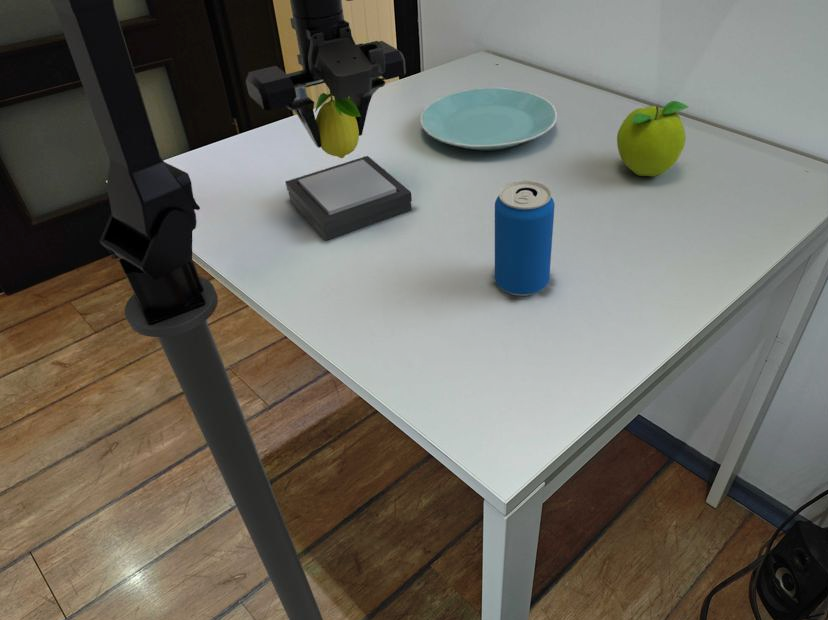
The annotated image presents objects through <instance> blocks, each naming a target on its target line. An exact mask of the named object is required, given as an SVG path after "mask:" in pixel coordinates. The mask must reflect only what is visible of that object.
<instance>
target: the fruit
mask: <svg viewBox="0 0 828 620" xmlns="http://www.w3.org/2000/svg"><path fill="white" fill-rule="evenodd" d="M688 108H689V105H686V104H684V103H683V102H680V101H677V100H672V101H669V102H667V103H666V104H665V105H664V107H659V105H658V104H656V105H651V106H646V107H640V108H636V109H634V110H632V111H631V112H629V114H628V115H627V116H626V117H625V118H624V120H623V122H622V123H621V125H620V126H619V129H618V131H617V137H616V143H617V150H618V154H619V156H620V159H621V160H622V162H623V164H624V165H625V166H626V167H627V168H628V169H629V170H630V171H631V172H633V174H635V175H637V176H638V177H639V176H640V177H657V176H660V175H661V174H664V173H666V172H667V171H668V170H669V169H671V168H672V167H673V166H674V165H675V164H676V162H677V161H678V160H679V158H680V156H681V155H682V152H683V150H684V148H685V145H686V130H685V127H684V124H683V122H682V119H681V117H680V115H679V114H678V112H679V111H682V110H685V109H688Z"/></svg>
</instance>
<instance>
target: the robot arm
mask: <svg viewBox="0 0 828 620" xmlns="http://www.w3.org/2000/svg"><path fill="white" fill-rule="evenodd" d="M49 1H50V4H52V6H53V8H54V11H55V13H56V16H57V18H58V19H57V20H58V21H59V23H60V27H61V30H62V32H63V35H64V38H65V41H66V43H67V46H68V49H69V52H70V54H71V57H72V60H73V62H74V66H75V69H76V71H77V74H78V77H79V79H80V82H81V85H82V87H83V90H84V93H85V95H86V98H87V101H88V104H89V107H90V109H91V112H92V115H93V118H94V121H95V123H96V126H97V129H98V132H99V134H100V137H101V140H102V142H103V146H104V148H105V151H106V154H107V156H108V160H109V167H108V172H107V173H108V174H107V180H106V190H107V195H108V201H109V207H110V211H111V213H110V215H109V217H108V220H107V222H106V225H105V228H104V230H103V232H102V235H101V237H100V240H99V243H100V244H101V245H102V246H103V247H104V248H105V249H106V250H107V251H108V252H109V253H110V254H112V255H114V256H117V257H118V258H120V259H118V261H119V264H120V266H121V268H122V270H123V273H124V274H125V277H126V279H127V280H128V283H129V285H130V287H131V289H132V291H133V294H134V293H135V294H134V296H135V298H136V301H137V303H138V305H139V307H140V309H141V311H142V313H143V316H144V318H145V320H146V322H147V324H148V325H154V324H157V323H159V322H162V321H165V320H167V319H170V318H173V317H176V316H178V315H181V314H184V313H186V312H189V311H192V310H194V309H197V308H200V307H202V306H204V305H205V304H206V302H205V300H204V298H203V296H202V295H201V292H203V290H204V289H203V286H202V283H201V281H200V278H199V276H200V274H199V273H198V271H197V268H196V265H195V262H194V260H193V232H194V230H196V229H197V223H198V221H197V213H196V211H200V210H201V206H200V205H199V204H198V203H197V202H196V198H195V197H194V193H193V192H194V191H193V186H192V180H191V177H190V175H189V173H188V172H186V171H184V170H182V169H180V168H178V167H175V166H173V165H171V164H170V163H168V162H165V161H164V159H163V157H162V156H161V152H160V150H159V146H158V143H157V139H156V137H155V134H154V129H153V127H152V123H151V120H150V117H149V114H148V113H149V112H148V110H147V107H146V104H145V101H144V97H143V94H142V91H141V88H140V84H139V82H138V78H137V75H136V72H135V71H136V70H135V68H134V65H133V62H132V59H131V55H130V53H129V49H128V46H127V42H126V39H125V36H124V33H123V29H122V26H121V23H120V20H119V16H118V14H117V10H116V5H115V0H49ZM346 1H347V2H351V1H353V0H346ZM289 3H290V8H291V13H292V17H290V18H289V21H290V25H291V29H293V30H295V35H296V41H297V46H298V52H299V54H297V55H296V57H297V61H298V62H297V63H298V65H300V66H302V70H297V71H293V72H289V73H286V72H285V71H284V70H282V69H281V68H279V67H278V66H277V65H273V66H269V67H265V68H261V69H256V70H252V71H249V72H248V74H247V76H246V78H245V86H246V88H247V92H248V96H249V97H250V99H252V100H253V101H254V102H255V103H256V104H257V105H259V107H261V109H262V110H264V111H274V110H276V109H280V108H284V107H286V108H287V109H288V110H290V111H293V112H294V113H295V115H296V116H297V117H298V120H299V121H300V123H302V126H303V127H304V129H305V130H306V132H307V134H308V135H309V137H310V139H311V140H312V141H313V144H314V145H315V146H316V147H317V148H318V149H319V148H321V139H320V134H319V131H318V127H317V123H316V116H315V110H314V107H315V101H314V100H312V98H310V97H309V96H308V93H307V88H309V87H313V86H318V85H321V84H325V85H326V87H327V88H328V90H329V92H330V91H331V94H332V97H335V98H337V99H346V98H348V97H349V98H350V99H351V100H352V102H353V103H354V104H355V105H356V107H357V109H358V111H359V113H360V116H361V117H355V118H356V120H357V124H358V129H359V137H360V136H362V135H363V133H364V127H365V123H366V119H367V116H368V115H367V114H368V110H369V106H370V103H371V100H372V98H373V95H374V94H376V92H377V91H378V90H379V89H380V88H383V87H384V86H385V85H386V81H388V80H391V79H395V78H399V77H403V76H405V75H406V74H407V69H406V58H405V57H404V54H403V53H402V51H400V49H397V48H395V47H394V46H392V45H390V44H388V43H387V42H385V41H384V40H379V41H378V40H374V41H370V42H366V43H362V42H361V43H357V44H356V42H355V40H354V38H353V35H352V29H351V28H350V22H349V21H346V20H345V16H344V9H343V8H344V7H343V1H342V0H289ZM382 78H383V79H382Z"/></svg>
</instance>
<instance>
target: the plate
mask: <svg viewBox="0 0 828 620" xmlns="http://www.w3.org/2000/svg"><path fill="white" fill-rule="evenodd" d="M557 120H558V112H557V109H556V107H555V106H554V105H553V104H552V102H550V101H549V100H548V99H546V98H544V97H543V96H541V95H537V94H535V93H532V92H529V91H525V90H521V89H516V88H509V87H490V86H489V87H477V88H469V89H465V90H459V91H456V92H455V91H454V92H452V93H449V94H446V95H444V96H441V97H439V98H437V99H435V100H434V101H432V102H430V103H428V105H426V106H425V107H424V108H423V110H422V112H421V114H420V116H419V123H420V127H421V128H422V129H423V131H424V132H425V133H426V134H427V135H428V136H430V137H432V138H433V139H435V140H437V141H439V142H441V143H445V144H447V145H451V146H454V147H459V148H462V149H467V150H473V151H499V150H504V149H510V148H513V147H516V146H518V145H521V144H523V143H526V142H529V141H532V140H535V139H537V138H540V137H542V136H543V135H545V134H546V133H549V131H550V130H551V129H552V128H553V127H554V126H555V124H556V122H557Z"/></svg>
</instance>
